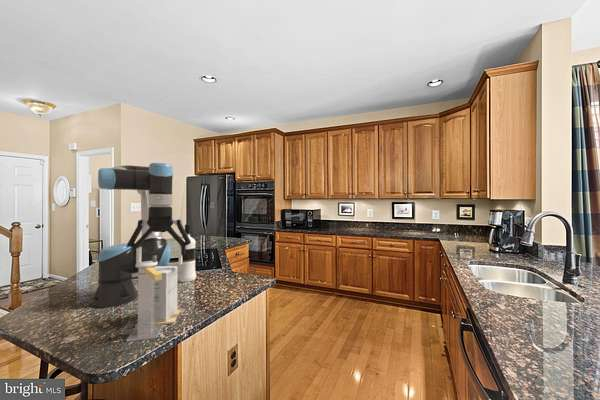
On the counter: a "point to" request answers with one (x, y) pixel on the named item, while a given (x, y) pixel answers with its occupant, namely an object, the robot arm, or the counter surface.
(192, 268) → the vodka
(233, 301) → the counter surface
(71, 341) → the counter surface
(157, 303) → the supplement box
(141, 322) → the post
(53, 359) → the counter surface
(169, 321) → the trivet
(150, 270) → the handwheel arm
